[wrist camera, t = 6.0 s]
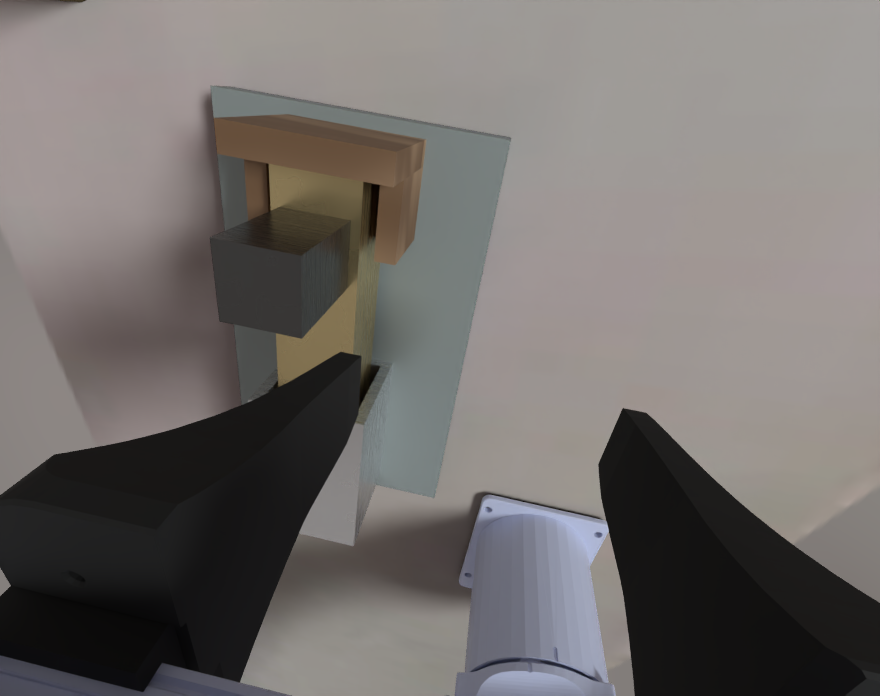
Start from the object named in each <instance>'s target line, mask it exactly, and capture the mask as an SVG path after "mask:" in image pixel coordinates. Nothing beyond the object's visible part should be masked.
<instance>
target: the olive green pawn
mask: <svg viewBox="0 0 880 696" xmlns="http://www.w3.org/2000/svg"><path fill="white" fill-rule="evenodd" d="M60 1H74V2H83V1H85V0H60Z"/></svg>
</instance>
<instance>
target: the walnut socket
mask: <svg viewBox="0 0 880 696" xmlns="http://www.w3.org/2000/svg"><path fill="white" fill-rule="evenodd" d="M214 127H215V137H216V147H217V154H221V155H226V156H231V157H236V158H242V159H244V169H245V183H246V198H247V212H248V221H249V220H251V219H253V218H255V217H258V216H260V215H262V214H264V213H267V212H269V211H271V206H270V182H269V164H273V165H278V166H284V167H289V168H294V169H299V170H304V171H310V172H315V173H320V174H325V175H331V176H336V177H341V178H346V179H352V180H357V181H362V182H367V183H373V184H378V185H380V191H379V204H378V216H377V229H376V242H375V254H374V261H375V262H380V263H385V264H390V265H396V264H397V262H398V261H399V260H400V258H401V257H402V255H403V254H404V253H405V251H406V250H407V249H408V247H409V246H410V245H411V243H412V242H413V241H414V237H415V229H416V221H417V213H418V205H419V196H420V188H421V180H422V172H423V164H424V156H425V148H426V139H421V138H416V137H410V136H405V135H399V134H394V133H388V132H383V131H378V130H372V129H367V128H361V127H356V126H350V125H345V124H339V123H334V122H329V121H323V120H318V119H312V118H307V117H301V116H296V115H291V114H281V115H260V116H239V117H218V118H214Z"/></svg>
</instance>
